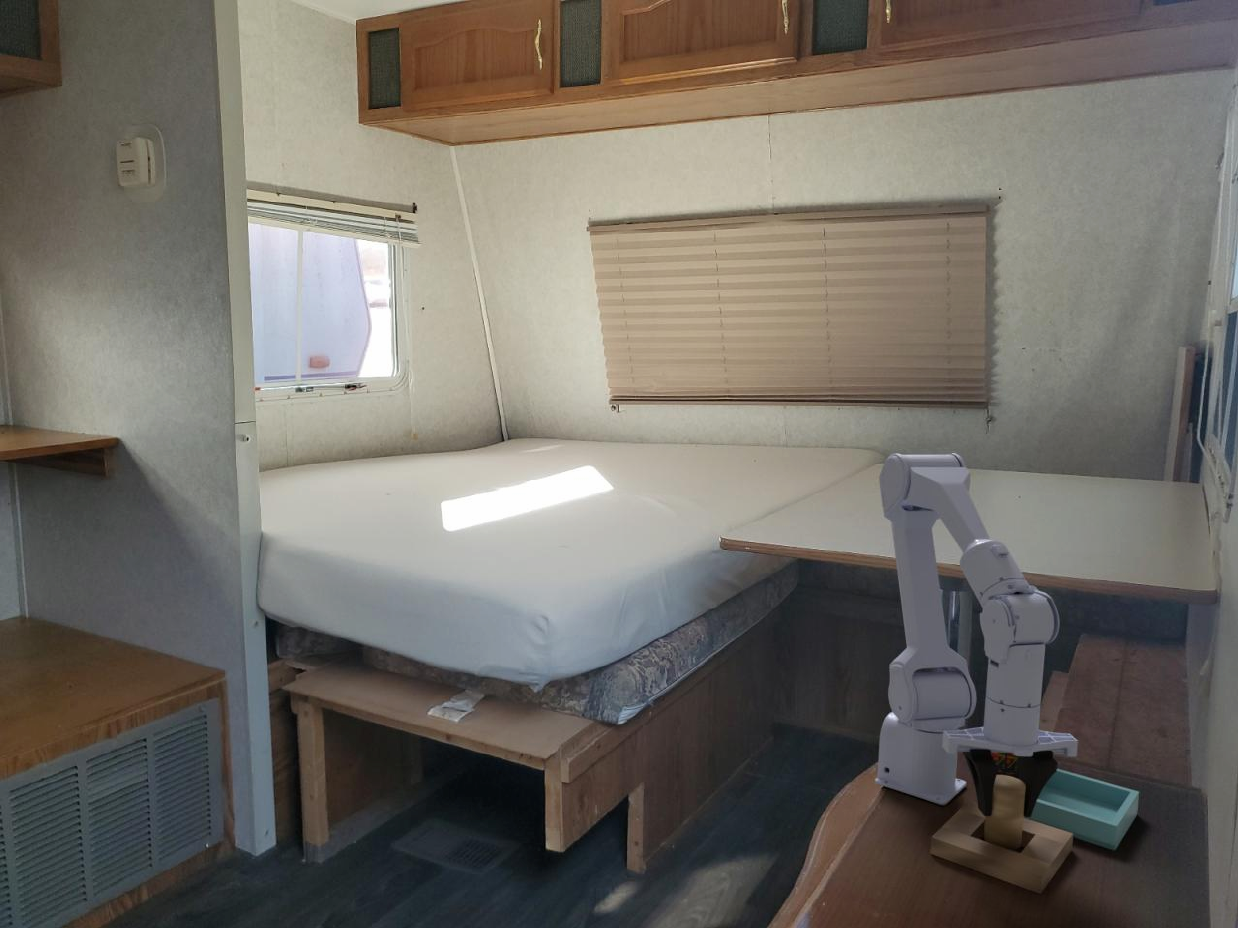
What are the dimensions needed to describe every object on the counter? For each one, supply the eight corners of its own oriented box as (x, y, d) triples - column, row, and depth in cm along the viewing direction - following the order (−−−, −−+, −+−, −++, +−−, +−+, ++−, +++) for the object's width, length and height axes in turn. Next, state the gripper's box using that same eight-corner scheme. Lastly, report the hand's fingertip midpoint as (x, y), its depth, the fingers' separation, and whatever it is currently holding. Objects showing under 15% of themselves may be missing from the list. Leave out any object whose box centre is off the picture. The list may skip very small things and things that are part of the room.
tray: (1011, 817, 116) (1013, 794, 116) (1039, 785, 125) (1041, 763, 125) (1114, 850, 109) (1116, 826, 108) (1137, 814, 118) (1139, 791, 117)
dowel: (991, 849, 106) (995, 790, 105) (978, 831, 110) (982, 774, 109) (1026, 850, 106) (1031, 791, 105) (1013, 832, 110) (1017, 775, 109)
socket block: (930, 853, 107) (931, 836, 107) (968, 815, 116) (969, 800, 116) (1040, 893, 100) (1042, 876, 99) (1071, 849, 109) (1073, 833, 109)
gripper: (961, 710, 102) (953, 828, 104) (1095, 713, 102) (1084, 831, 104) (939, 687, 109) (932, 798, 111) (1064, 689, 109) (1055, 800, 111)
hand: (1004, 812), depth 107 cm, fingers closed on dowel, 4 cm apart
